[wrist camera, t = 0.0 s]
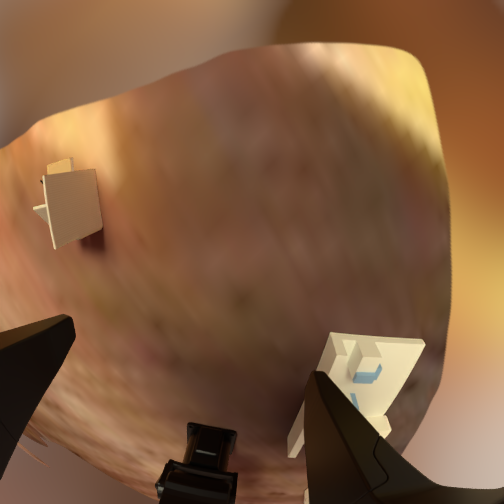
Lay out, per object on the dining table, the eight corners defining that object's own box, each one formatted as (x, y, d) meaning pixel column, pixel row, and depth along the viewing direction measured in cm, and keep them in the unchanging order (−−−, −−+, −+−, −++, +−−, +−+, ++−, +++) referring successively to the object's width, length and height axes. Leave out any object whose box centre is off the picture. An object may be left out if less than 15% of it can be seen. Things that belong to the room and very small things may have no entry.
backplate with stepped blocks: (361, 437, 30) (366, 458, 26) (287, 436, 30) (287, 460, 27) (421, 339, 24) (437, 361, 21) (330, 332, 25) (337, 358, 21)
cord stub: (377, 428, 28) (381, 442, 26) (310, 429, 28) (311, 445, 26) (386, 415, 27) (391, 430, 25) (316, 416, 27) (319, 433, 25)
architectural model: (80, 230, 24) (31, 253, 17) (71, 163, 22) (17, 169, 15) (106, 227, 24) (56, 252, 17) (97, 155, 22) (42, 158, 14)
